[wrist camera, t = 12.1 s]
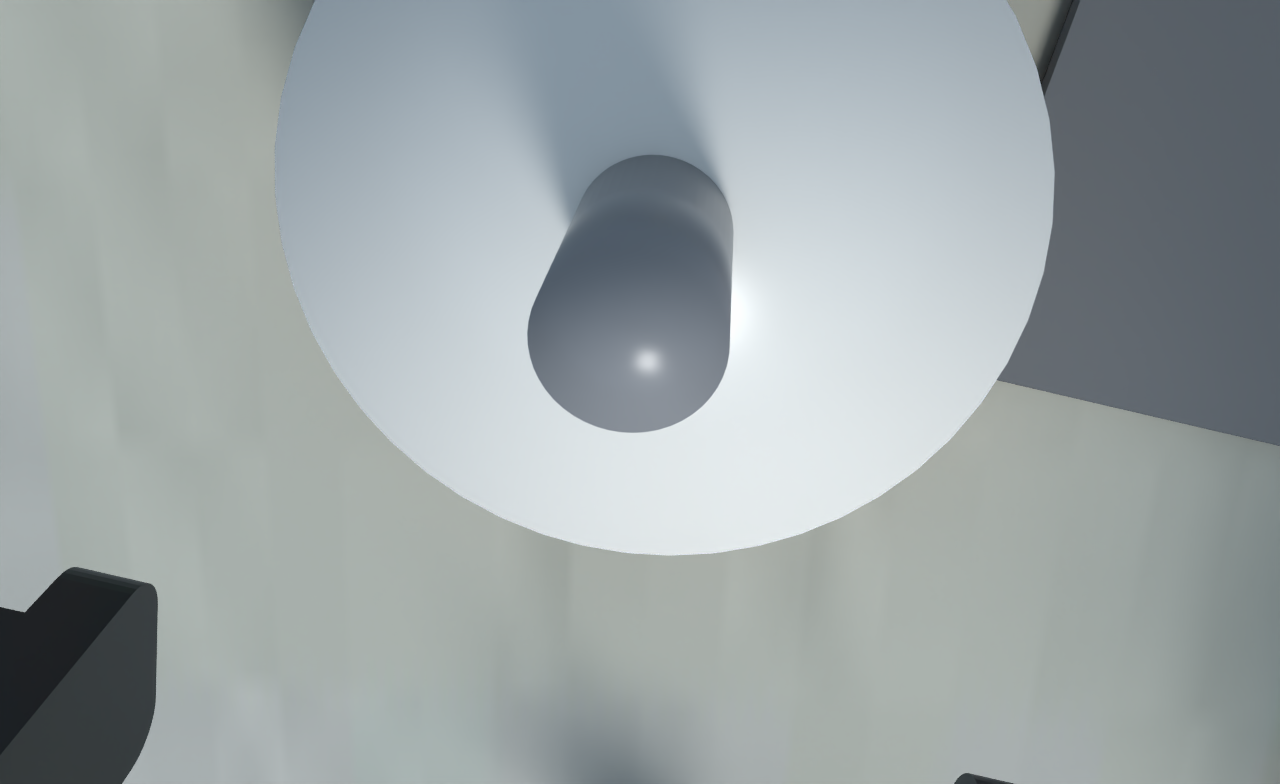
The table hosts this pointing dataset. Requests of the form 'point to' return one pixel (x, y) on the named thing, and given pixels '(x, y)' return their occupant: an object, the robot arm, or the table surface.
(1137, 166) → the mat
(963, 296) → the lid
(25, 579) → the table surface
